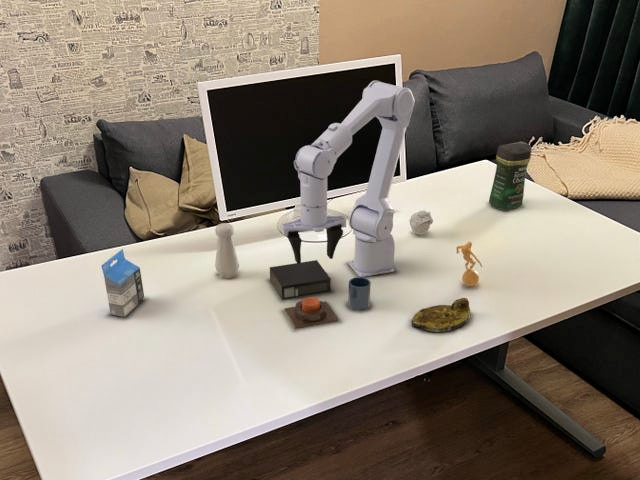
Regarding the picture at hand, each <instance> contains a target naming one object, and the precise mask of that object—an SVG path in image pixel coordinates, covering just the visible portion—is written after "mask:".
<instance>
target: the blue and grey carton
mask: <svg viewBox="0 0 640 480" xmlns="http://www.w3.org/2000/svg"><path fill="white" fill-rule="evenodd" d="M113 261H114V262H115V261H116V262H115V263H114V264H113ZM111 264H112V265H111ZM101 270H102V274H103V279H104V285H105V289H106V290H105V291H106V295H107V303H108V308H109V313H110V316H115V317H120V318H126V317H127V316H128V315H129V314H130V313H131V312H132V311H134V309H136V308H137V307H138V306H139V305H140V304H141V303H142V302H143V301H145V292H144V286H143V285H144V284H143V279H142V272H141V267H140V266H138V265H136V264H135V263H133V262H131V261H130V260H128V259H126V258H125V252H124V248H122V249H120V250H119V251H118V252H117V253H115V254H113V256H111V257H110V258H109V259H107V261H105V262H104V263H103V264H101Z"/></svg>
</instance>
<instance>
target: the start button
mask: <svg viewBox="0 0 640 480" xmlns="http://www.w3.org/2000/svg"><path fill="white" fill-rule="evenodd" d="M301 300H302V310H304V311H306V312H315V311H318V310H319V309H320V301H321V300H320V298H318V297H315V296H307V297H306V296H305V297H304V298H303V299H301Z"/></svg>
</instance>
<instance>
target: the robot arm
mask: <svg viewBox="0 0 640 480" xmlns="http://www.w3.org/2000/svg"><path fill="white" fill-rule="evenodd" d="M361 98H362V99H361V100H359V102H358V103H357V104H356V105H355V107H354V108H353V109H352V110H351V111H350V112H349V113H348V115H347V116H346V117H345V118H344V119H343V121H341V123H339V122H333V123H331V124H330V125H329V126H327V127H328V128H327V129H326V130H325V131H323V132H322V134H321V135H320V136H319V137H318V138H316V140H314V141H313V142H312V143H311V144H308V145H304V146H302V147H301V148H299V150H298V151H297V152H296V154H295V160H293V166H294V169H295V170H296V171H297V178H298V179H299V181H300V219H295V220H292V221H289V222H286V223H281V224H280V232H281V234H282V235H283V236H286V238H287V239H288V241H289V243H290V244H289V245H290V246H291V248H292V251H293V255H294V256H293V257H294V261H295V263H297V264H300V263H301V262H302V255H301V249H302V241H303V239H302V238H301V237H300V233H303V232H315V233H321V232H324V231H325V230H326V232H325V233H326V256H327V257H328V258H329V260H333V259H334V256H335V255H334V254H335V252H336V248H337V246H338V243H339V241H340V240H341V238H342V237H343V235H344V228H347V218H346V217H345V216H344V215H335V216H334V215H328V176H330V175H331V174H332V172H333V169H334V166H335V164H336V163H337V161H338V159H339V157H340V156H341V155H342V154H343V153H344V152H346V150H347V149H348V148H349V147H350V146H351V145H352V144H353V136H354V135H355V134H356V133H357V132H358V131H360V130H361V129H362V128H363V127H364V126H366V125H367V124H368V123H369V122H370V121H371V120H372V119H374V118H376V119H378V121H379V123H380V125H381V127H382V129H381V133H380V136H379V140H378V144H377V148H376V153H375V156H374V160H373V164H372V166H371V167H372V168H371V172H370V174H369V175H370V176H369V180H368V182H367V183H368V184H367V187H366V190H365V194H363V195H362V196H360V197H358V198H356V199H355V202H354V205H353V207H352V209H351V211H350V212H349V215H348V226H349V228H350V229H351V230H352V234H353V235H354V259H353V260H350V261H348V265H349V266H350V267H351V269H352V270H353V271H354V273H356V275H357V277H363V278H366V277H370V276H371V277H372V276H376V275H383V274H388V273H394V272H395V271H396V270H395V268H394V265H395V253H396V251H395V250H396V245H395V240H394V236H393V234H392V231H393V228H394V214H395V209H394V207H393V206H392V204H391V203H390V201H389V199H388V198H389V194H390V190H391V187H392V183H393V180H394V176H395V173H396V168H397V164H398V161H399V157H400V154H401V150H402V147H403V142H404V138H405V135H406V130H407V128H408V127H409V125H410V121H411V118H412V113H413V111H414V106H415V103H416V100H415V97H414V95H413V92H412V90H411V89H410V88H409V87H402V86H398V85H394V84H391V83H388V82H387V83H385V82H382V81H380V80H372V81H371V82H370V83H369V84H368V85H367V86H366V87H365V88H363V91H362V97H361ZM342 228H343V229H342Z"/></svg>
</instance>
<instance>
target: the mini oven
mask: <svg viewBox="0 0 640 480" xmlns="http://www.w3.org/2000/svg"><path fill="white" fill-rule="evenodd" d="M269 281H270V282H271V284H272V285H273V287H274V289H275V291H276V292H277V294H278V295H279V297H280V299H281V300H283V301H284V300H287V299H288V300H289V299H295V298H300V297H306V296H312V295H318V294H325V293H329V292H330V293H331V288H332V287H331V286H332V285H331V284H332V282H331V281H332V278H331V277H330V276H329V274H328V273H327V272H326V270H325V269H324V268H323V266H322V265H321V263H320V262H319V260H317V259H315V260H309V261H307V260H306V261H301V263H300V264H297V262H295V263H288V264H282V265H281V264H280V265H276V266H269Z"/></svg>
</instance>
